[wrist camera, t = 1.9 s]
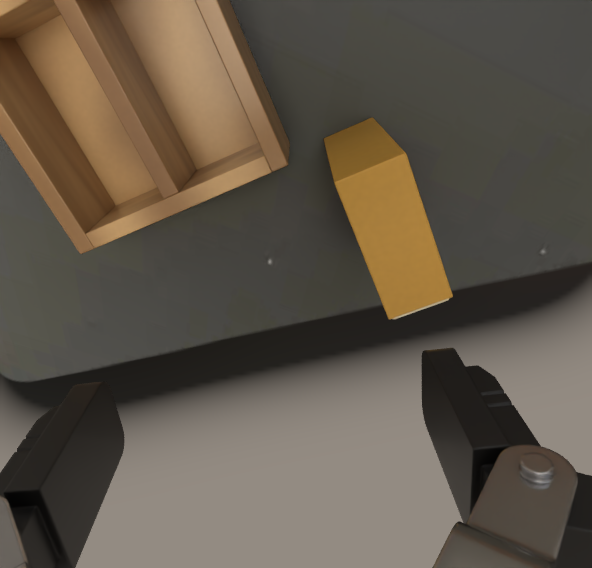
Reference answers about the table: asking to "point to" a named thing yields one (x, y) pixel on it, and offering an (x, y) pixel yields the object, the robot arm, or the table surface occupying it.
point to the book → (387, 218)
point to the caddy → (132, 109)
